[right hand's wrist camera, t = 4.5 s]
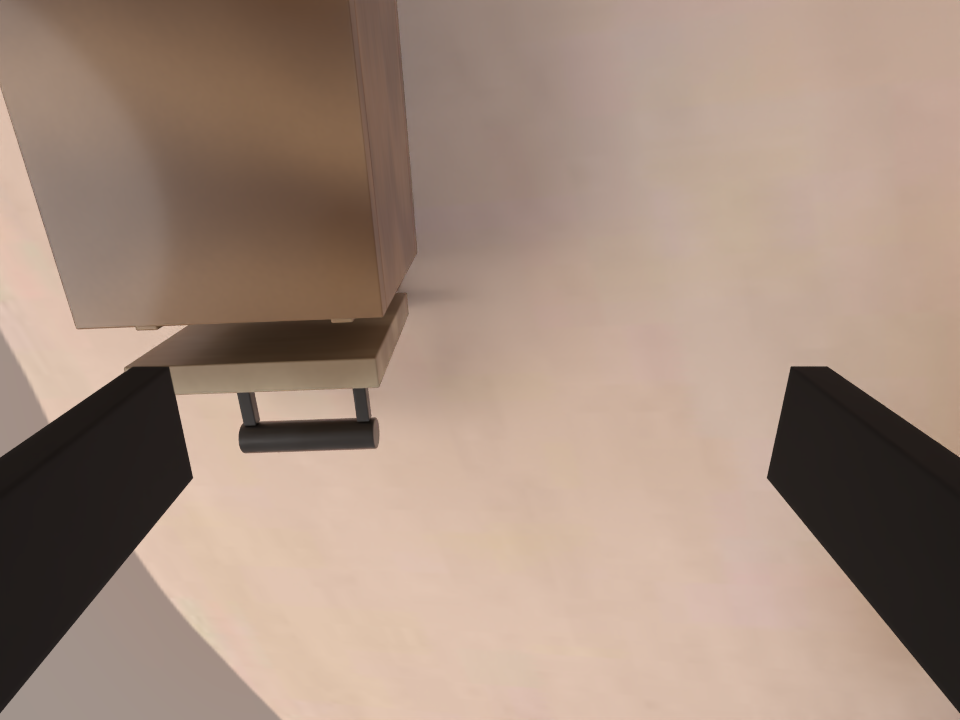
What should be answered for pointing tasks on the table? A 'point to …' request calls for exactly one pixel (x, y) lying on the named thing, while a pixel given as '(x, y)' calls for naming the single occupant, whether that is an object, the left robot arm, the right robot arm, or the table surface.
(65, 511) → the right robot arm
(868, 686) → the table surface
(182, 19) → the cabinet
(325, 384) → the drawer
